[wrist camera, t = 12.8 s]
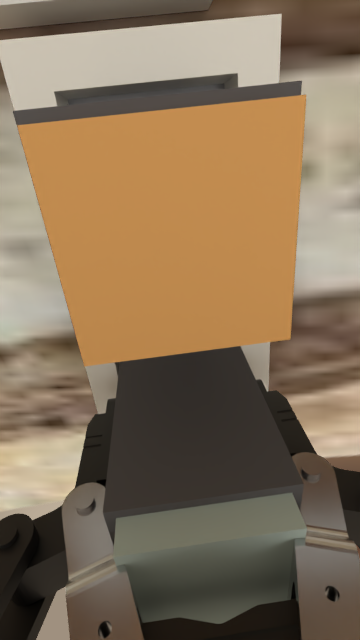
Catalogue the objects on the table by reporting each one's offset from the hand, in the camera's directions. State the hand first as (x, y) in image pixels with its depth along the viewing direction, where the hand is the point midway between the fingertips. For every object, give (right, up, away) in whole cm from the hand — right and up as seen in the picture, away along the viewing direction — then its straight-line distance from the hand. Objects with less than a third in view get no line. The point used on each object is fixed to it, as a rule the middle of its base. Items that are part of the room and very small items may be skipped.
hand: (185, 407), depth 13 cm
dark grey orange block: (-1, +9, 0) cm, 9 cm away
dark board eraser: (0, +1, +3) cm, 3 cm away
